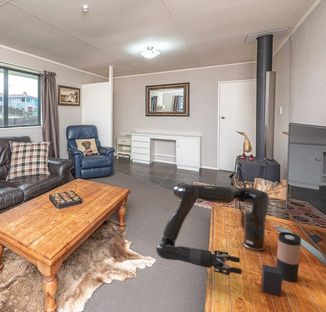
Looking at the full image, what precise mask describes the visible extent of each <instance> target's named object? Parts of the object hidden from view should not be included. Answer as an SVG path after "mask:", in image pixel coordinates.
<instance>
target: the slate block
mask: <svg viewBox="0 0 326 312" xmlns="http://www.w3.org/2000/svg"><path fill="white" fill-rule="evenodd" d="M260 286H261V290H262V293H265V294H270V295H274V296H278V297H282V286H283V279H282V272H281V270H280V268H278V267H277V266H272V265H267V264H262V265H261V279H260Z"/></svg>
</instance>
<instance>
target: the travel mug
mask: <svg viewBox="0 0 326 312" xmlns="http://www.w3.org/2000/svg"><path fill="white" fill-rule="evenodd" d="M277 239H278V240H277V250H276V251H277V253H276V267H278V268H280V270H281V272H282V281H283V280H284V281H286V282H291V283H292V282H293V283H295V282H296V281H297V280H298V274H299V269H300V268H299V267H300V259H301V258H300V257H301V244H302V237H301V236H300V235H299V234H296V233H293V232H290V231H289V232H288V231H281V232H279V233H278V238H277Z"/></svg>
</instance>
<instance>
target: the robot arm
mask: <svg viewBox="0 0 326 312" xmlns="http://www.w3.org/2000/svg"><path fill="white" fill-rule="evenodd" d="M173 194H174V196H175V197H176V198H177V199H179V200H180V203H179V206H178V207H177V209H176V211H175V212H174V213H173V214H172V216H170V217H169V219H168V220H167V222H166V224H165V227H164V230H163V233H162V235H163V236H162V238H161V241H160V243H159V244H158V245H157V246H156V249H155V252H156V255H157V256H158V257H159V258H161V259H164V260H167V261H169V260H170V261H180V262H183V263H187V264H191V265H195V266H198V267H203V268H207V269H211V268H213V272H214V273H218V274H222V275H225V276H230V275H231V273H232V274H235V275H236V274H237V275H242V274H243V273H242V271H243V270H242V269H241V268H239V267H234V266H231V265H229V264H227V263H226V262H229V261H230V262H233V263H236V264H237V263H238V264H239V263H241V258H240V257H238V256H234V255H230V254H229V252H228V251H222V250H215V249H214V250H213V253H212V251H211V250H208V249H202V248H198V247H189V246H184V245H178V246H177V245H176V241H177V239H178V237H179V235H180V232H181V229H182V227H183V225H184V223H185V220H186V219H187V217H188V215H189V214H190V212H191V210H192V209H193V208H194V206H195V204H196V202H197V200H202V201H205V202H208V203H214V204H225V205H226V204H231V203H233V202H241V203H245V204H248V205H250V206H252V209H247V210H245V211H244V212H243V211H242V209H241V208H240V207H236V209H237V210H239V211H240V212H241V220H240V223H241V226H242V229H243V231H244V232H243V246H244V247H245V248H247V249H249V250H251V251H258V252H259V251H263V250H264V249H265V236H266V235H265V233H266V232H265V231H266V217H267V215H268V212H269V205H270V197H269V193H267V192H265V190H264V191H263V190H262V189H261V190H260V189H258V188H255V187H233V186H225V185H208V184H207V185H201V184H193V183H189V182H179V183H177V184H176V185H175V186H174V187H173ZM243 221H244V222H243Z"/></svg>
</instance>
